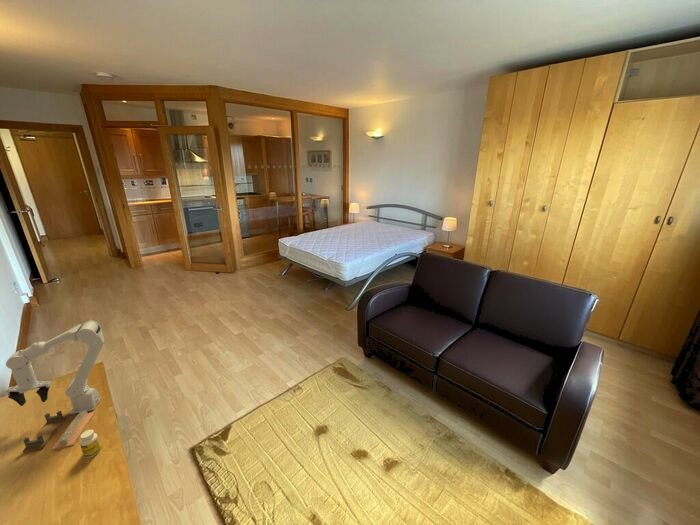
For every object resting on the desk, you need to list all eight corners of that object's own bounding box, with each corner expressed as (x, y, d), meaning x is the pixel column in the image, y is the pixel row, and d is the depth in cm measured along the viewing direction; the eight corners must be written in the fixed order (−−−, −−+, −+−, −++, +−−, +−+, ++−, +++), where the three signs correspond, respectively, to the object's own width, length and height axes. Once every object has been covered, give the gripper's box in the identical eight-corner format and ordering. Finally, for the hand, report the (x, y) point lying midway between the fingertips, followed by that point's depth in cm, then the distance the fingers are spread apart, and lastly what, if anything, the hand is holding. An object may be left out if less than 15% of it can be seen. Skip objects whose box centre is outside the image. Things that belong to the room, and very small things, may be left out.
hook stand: (50, 420, 129) (47, 411, 128) (66, 417, 131) (63, 408, 130) (23, 453, 114) (19, 443, 113) (42, 449, 116) (38, 439, 114)
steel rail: (81, 415, 132) (80, 411, 131) (87, 414, 133) (86, 410, 132) (60, 445, 117) (58, 440, 117) (67, 443, 118) (66, 439, 117)
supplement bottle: (81, 460, 112) (75, 441, 109) (86, 449, 116) (80, 430, 114) (99, 455, 114) (93, 436, 112) (102, 444, 119) (97, 425, 116)
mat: (95, 412, 134) (94, 411, 134) (73, 445, 118) (73, 444, 118) (76, 416, 132) (76, 415, 132) (52, 450, 116) (51, 448, 116)
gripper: (-5, 386, 118) (6, 412, 122) (40, 379, 122) (48, 405, 126) (8, 375, 124) (18, 401, 128) (50, 369, 129) (58, 394, 133)
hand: (34, 402), depth 128 cm, fingers open, 7 cm apart
